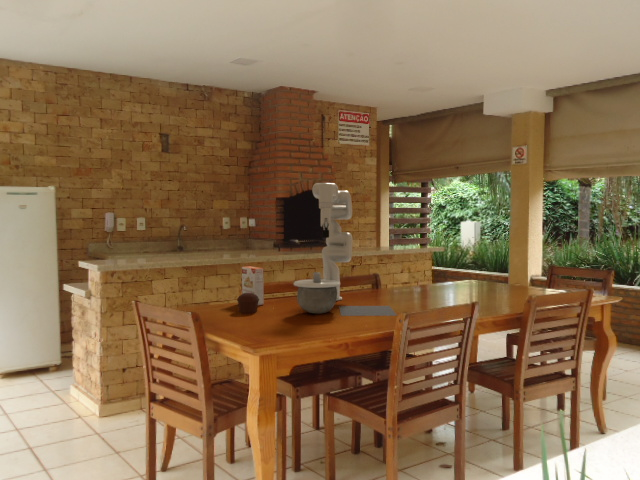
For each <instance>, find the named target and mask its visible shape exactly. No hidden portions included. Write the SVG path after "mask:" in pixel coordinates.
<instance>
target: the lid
mask: <svg viewBox="0 0 640 480" xmlns="http://www.w3.org/2000/svg"><path fill="white" fill-rule="evenodd" d="M312 275H313V276H312V279H300V280H295V281H293V286H294V287H298V288H299V287H306V288H328V287H336V286H341V281H340V282H339V281H335V280H325V279H323V278H322V272H320V271H319V272H318V271H314V272H313V274H312Z"/></svg>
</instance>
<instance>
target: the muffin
mask: <svg viewBox="0 0 640 480" xmlns="http://www.w3.org/2000/svg"><path fill="white" fill-rule="evenodd" d="M236 301H237V305H238V310H239V313H241V314H246V315H247V314H249V315H250V314H256V313H257V312H258V307H259V306H258V301H259V298H258V296H257V295H255V294H254V293H243V294H242V293H241V294H239V296H238V297H237V299H236Z"/></svg>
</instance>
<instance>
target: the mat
mask: <svg viewBox="0 0 640 480" xmlns="http://www.w3.org/2000/svg"><path fill="white" fill-rule="evenodd" d="M338 308H339V312H340V315H341V316H343V317H354V316H355V317H359V316H360V317H364V316H365V317H366V316H368V317H369V316H370V317H372V316H373V317H374V316H375V317H376V316H377V317H381V316H383V317H384V316H385V317H386V316H388V317H389V316H391V317H392V316H395V317H396V316H397V317H398V315H397V312H395V311H394V309H393V308H392V307H391V305H339V306H338Z"/></svg>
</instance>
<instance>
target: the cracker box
mask: <svg viewBox="0 0 640 480" xmlns="http://www.w3.org/2000/svg"><path fill="white" fill-rule="evenodd" d="M264 281H265V279H264V268H263V267H257V266H253V265H252V266H250V265H249V266H247V265H245V266H242V267H241V289H242V290H241V294H243V293H254V294H255V295H257V296H258V298H259V301H258V307H259V306H264V305H265V293H264V290H265V289H264V288H265V284H264Z"/></svg>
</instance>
